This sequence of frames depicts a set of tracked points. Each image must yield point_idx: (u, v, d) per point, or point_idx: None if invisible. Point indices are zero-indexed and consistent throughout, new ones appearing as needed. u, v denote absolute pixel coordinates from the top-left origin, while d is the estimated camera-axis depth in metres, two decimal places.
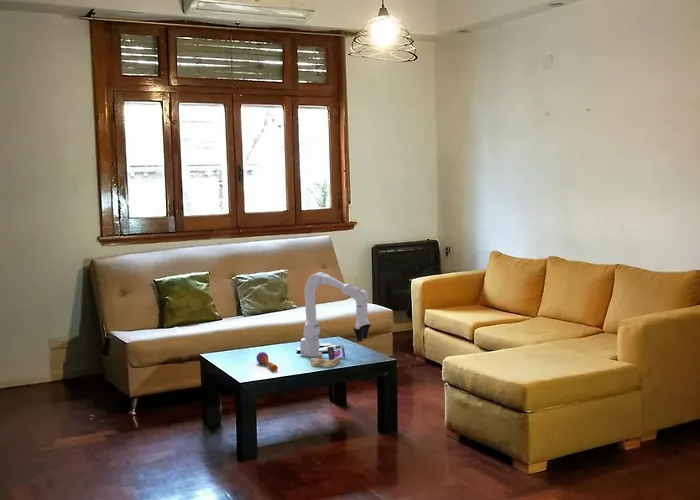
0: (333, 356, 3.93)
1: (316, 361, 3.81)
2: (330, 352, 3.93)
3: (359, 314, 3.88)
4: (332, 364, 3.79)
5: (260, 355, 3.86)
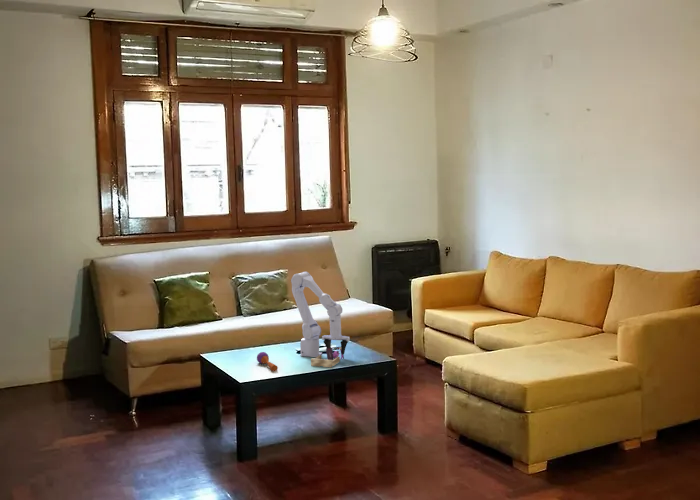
0: (332, 357, 3.92)
1: (316, 361, 3.81)
2: (329, 353, 3.92)
3: None
4: (332, 364, 3.79)
5: (260, 355, 3.86)
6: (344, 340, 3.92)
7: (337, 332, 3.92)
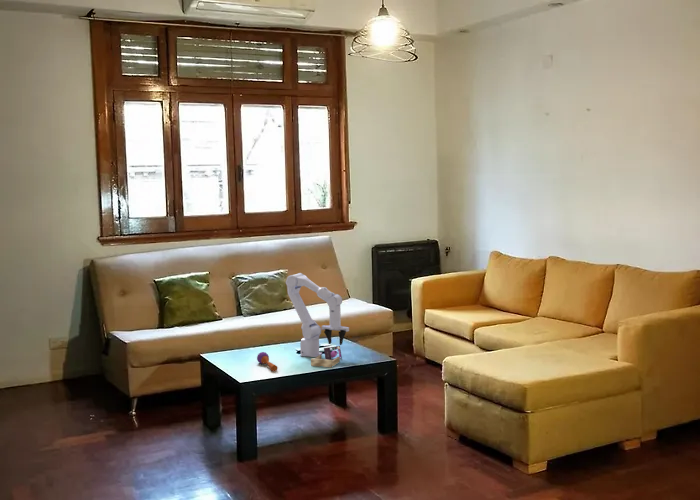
0: (330, 357, 3.92)
1: (316, 361, 3.81)
2: (327, 353, 3.92)
3: None
4: (332, 364, 3.79)
5: (260, 355, 3.86)
6: (343, 330, 3.92)
7: (337, 322, 3.91)
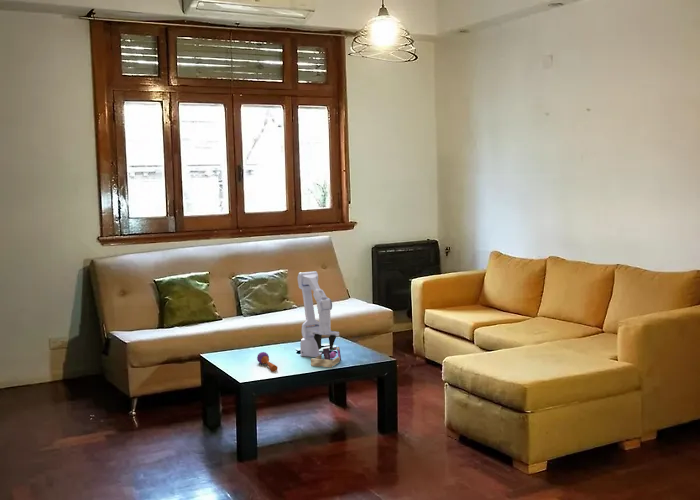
0: (329, 357, 3.90)
1: (316, 361, 3.81)
2: (326, 353, 3.90)
3: None
4: (332, 364, 3.79)
5: (261, 355, 3.85)
6: (333, 335, 3.81)
7: (326, 327, 3.81)
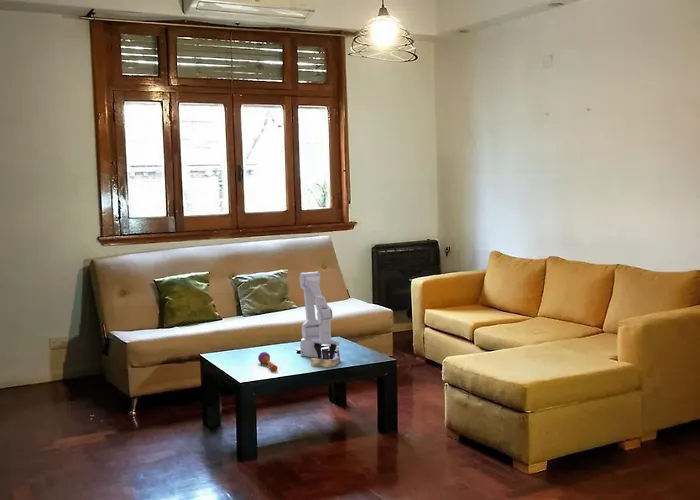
0: (327, 358, 3.89)
1: (316, 361, 3.81)
2: (325, 354, 3.89)
3: None
4: (332, 364, 3.79)
5: (262, 355, 3.86)
6: (334, 344, 3.82)
7: (327, 336, 3.81)
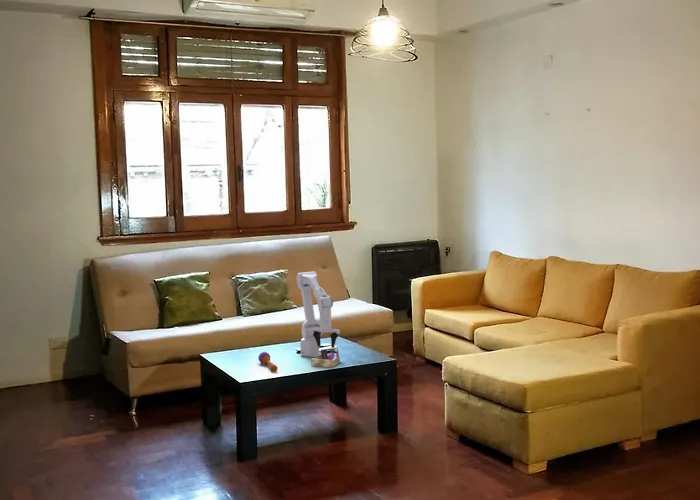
0: (326, 359, 3.88)
1: (316, 361, 3.81)
2: (324, 355, 3.88)
3: None
4: (332, 364, 3.79)
5: (262, 355, 3.86)
6: (334, 333, 3.82)
7: (327, 324, 3.81)
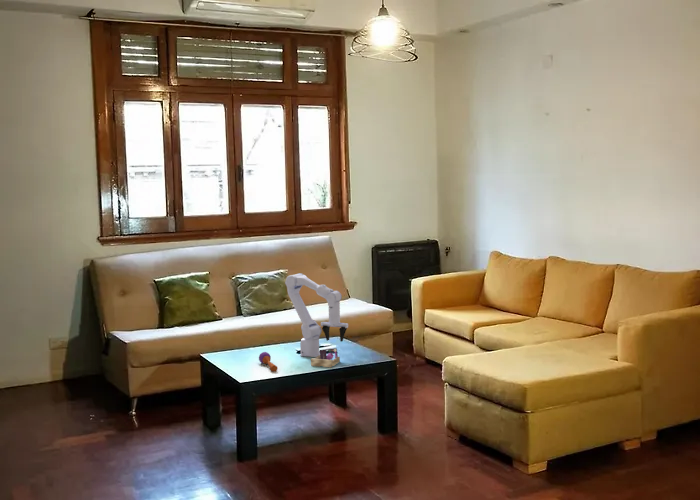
0: None
1: (316, 361, 3.81)
2: (322, 355, 3.88)
3: None
4: (332, 364, 3.79)
5: (262, 355, 3.86)
6: (343, 327, 3.91)
7: (336, 319, 3.90)
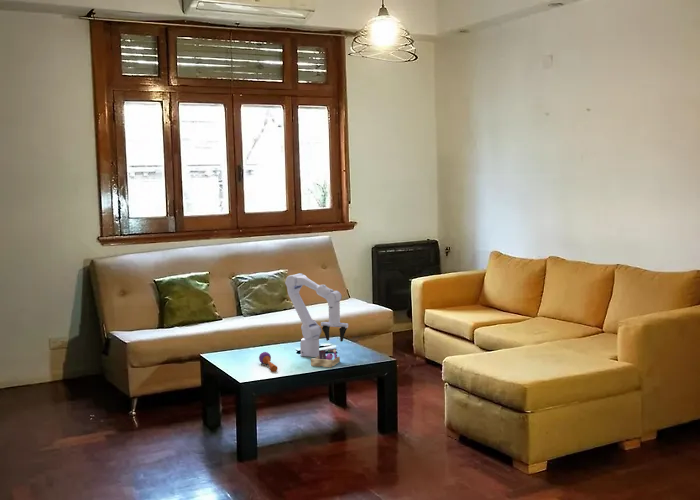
0: None
1: (316, 361, 3.81)
2: (322, 355, 3.87)
3: None
4: (332, 364, 3.79)
5: (262, 355, 3.86)
6: (343, 327, 3.91)
7: (336, 319, 3.90)
